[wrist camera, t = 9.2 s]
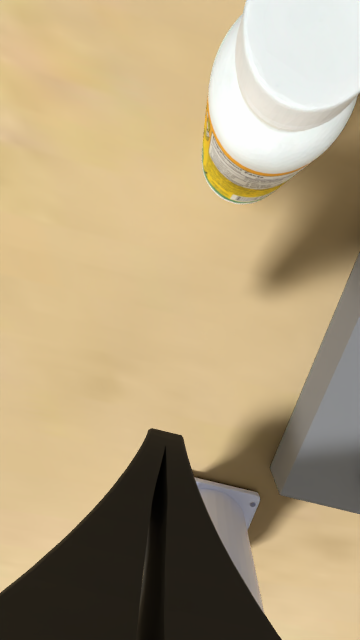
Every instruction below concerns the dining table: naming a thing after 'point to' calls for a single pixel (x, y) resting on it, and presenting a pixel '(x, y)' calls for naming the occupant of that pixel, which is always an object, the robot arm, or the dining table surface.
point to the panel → (327, 417)
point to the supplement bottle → (279, 93)
